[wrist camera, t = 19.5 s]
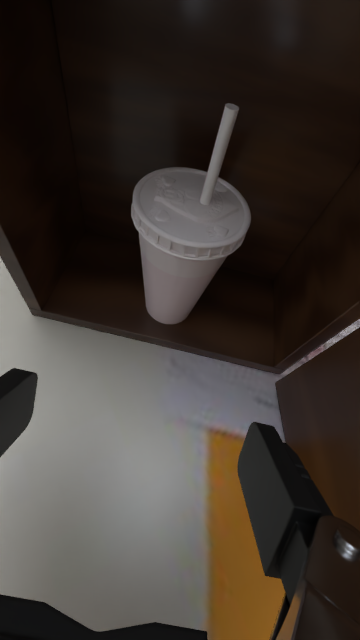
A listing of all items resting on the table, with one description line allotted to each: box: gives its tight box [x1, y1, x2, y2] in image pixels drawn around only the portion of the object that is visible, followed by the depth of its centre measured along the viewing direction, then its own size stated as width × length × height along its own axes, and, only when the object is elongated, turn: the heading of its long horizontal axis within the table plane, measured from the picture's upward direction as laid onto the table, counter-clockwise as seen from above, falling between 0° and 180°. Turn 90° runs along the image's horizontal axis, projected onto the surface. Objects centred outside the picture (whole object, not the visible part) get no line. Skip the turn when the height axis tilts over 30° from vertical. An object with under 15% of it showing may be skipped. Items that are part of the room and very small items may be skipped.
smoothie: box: [131, 103, 251, 324], centre depth 16 cm, size 6×6×14 cm
